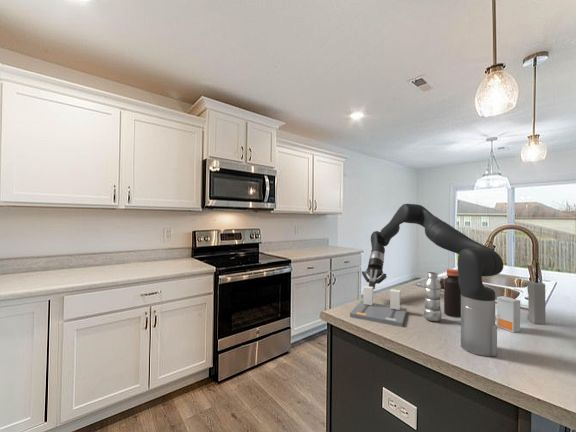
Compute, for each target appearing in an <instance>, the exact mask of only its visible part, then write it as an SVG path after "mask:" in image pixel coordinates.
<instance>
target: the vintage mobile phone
mask: <svg viewBox="0 0 576 432" xmlns="http://www.w3.org/2000/svg"><path fill="white" fill-rule="evenodd" d="M538 267H539V263H538V262H535V279H534V280H527V281H526V286H527V287H526V289H527V295H528V299H527V300H528V303H527V304H528V314H527V316H526V320H528V321H529V322H531V323H533V324H535V325H544V326H545V325H546V284H545V283H543V282H541V281H539V268H538Z"/></svg>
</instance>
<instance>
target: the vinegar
mask: <svg viewBox="0 0 576 432" xmlns="http://www.w3.org/2000/svg"><path fill="white" fill-rule="evenodd" d="M446 276H447V277H446V278H445V279H444V283H443V284H444V285H443V286H444V287H443V288H444V289H443V293H444V294H443V297H444V298H443V299H444V300H443V305H444V306H443V313H444V314H445V315H446V316H448V317H452V318H461V289H460V286H459V282H458V269H453V268H452V269H451V268H449V269H448V268H447V269H446Z"/></svg>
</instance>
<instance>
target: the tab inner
mask: <svg viewBox="0 0 576 432" xmlns="http://www.w3.org/2000/svg"><path fill="white" fill-rule="evenodd" d="M389 302H390V303H389V305H390V308H391V309H397V310H400V307H401V290H399V289H391V288H390V290H389Z"/></svg>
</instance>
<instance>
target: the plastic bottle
mask: <svg viewBox="0 0 576 432" xmlns="http://www.w3.org/2000/svg"><path fill="white" fill-rule="evenodd" d="M438 275H439V274H438V272H435V271H429V272H427V278H426V279H425V281H424V283H423V289H424V297H425V300H424V301H425V303H424V309H423V316H424V319H426V320H427V321H432V322H440V321H441V320H442V317H443V315H442V310H441V309H442V308H441V293H442V284H441V282H440V280H439V279H438V278H439V276H438Z"/></svg>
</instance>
